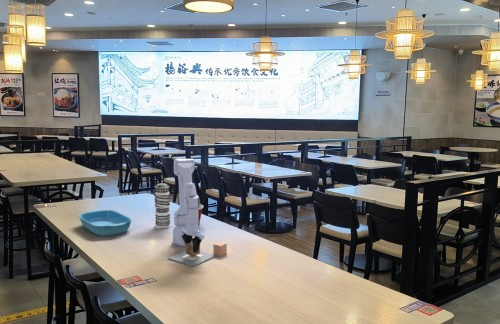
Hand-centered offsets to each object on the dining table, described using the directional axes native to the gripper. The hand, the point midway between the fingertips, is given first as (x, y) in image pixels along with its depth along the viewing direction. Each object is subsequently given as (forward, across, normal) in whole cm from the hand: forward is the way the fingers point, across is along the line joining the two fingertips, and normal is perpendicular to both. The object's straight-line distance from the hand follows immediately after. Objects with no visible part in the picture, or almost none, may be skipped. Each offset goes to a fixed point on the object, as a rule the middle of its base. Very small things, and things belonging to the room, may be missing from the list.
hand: (192, 250), depth 198 cm
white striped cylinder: (+4, +52, -22) cm, 57 cm away
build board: (+3, 0, 0) cm, 3 cm away
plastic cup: (+4, +40, -36) cm, 54 cm away
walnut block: (+2, 0, 0) cm, 2 cm away
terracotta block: (+3, -5, -13) cm, 14 cm away
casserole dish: (+4, +72, +3) cm, 72 cm away
